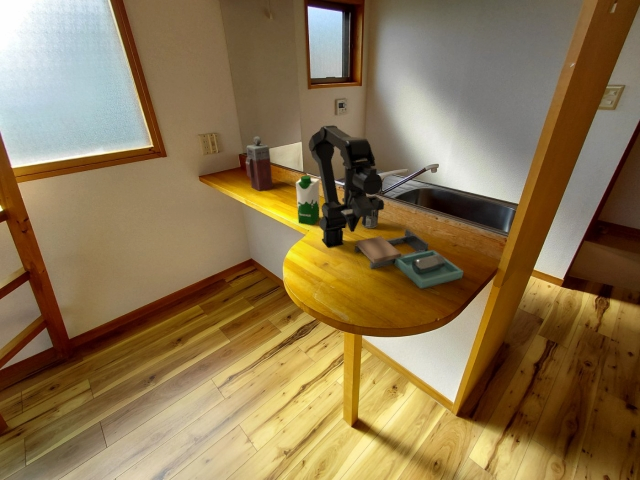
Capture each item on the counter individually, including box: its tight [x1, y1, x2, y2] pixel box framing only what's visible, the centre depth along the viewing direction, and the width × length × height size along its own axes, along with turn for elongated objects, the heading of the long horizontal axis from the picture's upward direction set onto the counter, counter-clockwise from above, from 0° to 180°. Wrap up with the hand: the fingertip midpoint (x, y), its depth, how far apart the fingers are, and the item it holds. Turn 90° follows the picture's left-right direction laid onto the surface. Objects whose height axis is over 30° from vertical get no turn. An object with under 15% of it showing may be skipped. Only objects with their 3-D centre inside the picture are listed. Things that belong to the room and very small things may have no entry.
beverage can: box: [361, 195, 380, 229], centre depth 123 cm, size 7×7×12 cm
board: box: [355, 236, 402, 263], centre depth 103 cm, size 10×13×3 cm
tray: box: [394, 249, 464, 290], centre depth 95 cm, size 15×14×2 cm
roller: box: [412, 253, 445, 274], centre depth 94 cm, size 9×4×4 cm, turn 111°
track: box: [354, 228, 430, 270], centre depth 104 cm, size 22×12×5 cm, turn 110°
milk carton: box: [295, 175, 320, 226], centre depth 126 cm, size 9×9×20 cm
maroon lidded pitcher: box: [245, 136, 274, 192], centre depth 163 cm, size 9×11×28 cm
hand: (352, 231), depth 95 cm, fingers closed
